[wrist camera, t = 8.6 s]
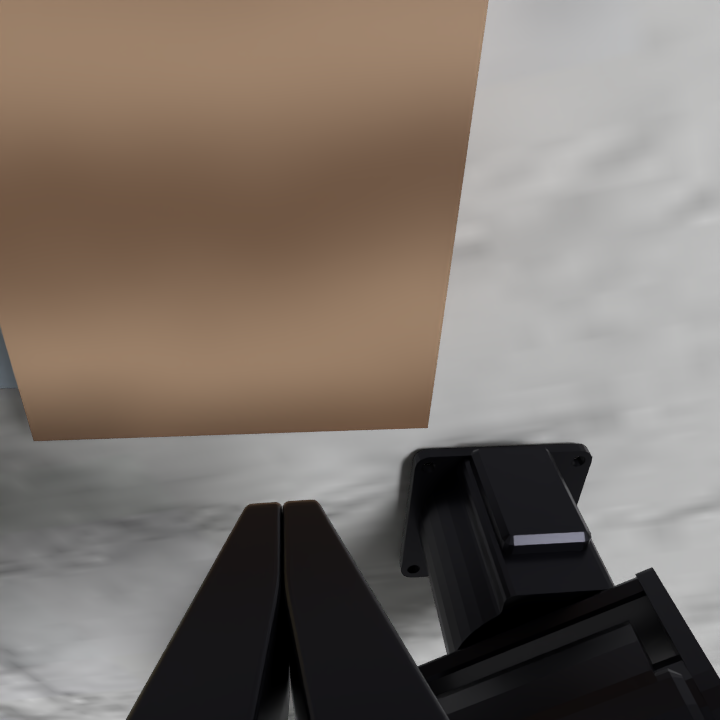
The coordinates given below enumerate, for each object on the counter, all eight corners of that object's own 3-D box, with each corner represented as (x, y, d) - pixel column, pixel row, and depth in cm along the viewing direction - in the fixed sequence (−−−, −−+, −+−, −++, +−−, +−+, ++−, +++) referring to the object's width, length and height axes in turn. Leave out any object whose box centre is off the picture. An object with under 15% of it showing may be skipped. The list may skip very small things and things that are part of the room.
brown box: (403, 345, 21) (427, 427, 18) (71, 351, 20) (33, 441, 17) (452, -122, 14) (506, -125, 11) (-44, -156, 13) (-146, -171, 10)
